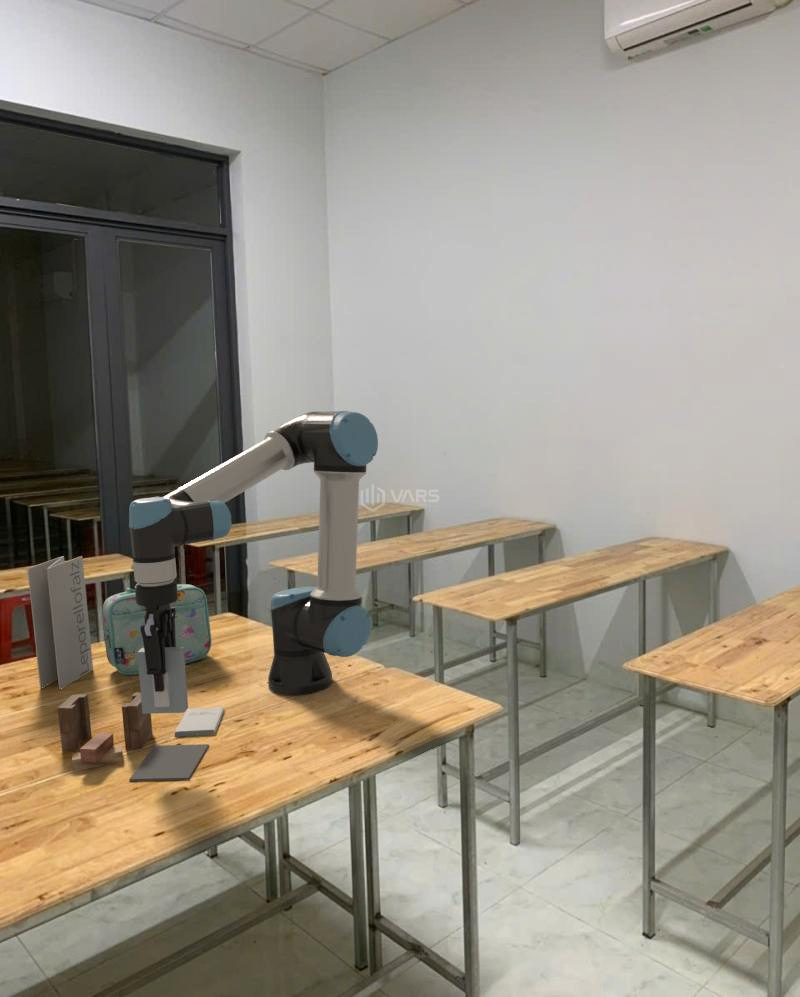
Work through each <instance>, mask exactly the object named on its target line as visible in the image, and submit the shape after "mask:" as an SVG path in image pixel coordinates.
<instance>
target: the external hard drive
mask: <svg viewBox="0 0 800 997" xmlns="http://www.w3.org/2000/svg"><path fill="white" fill-rule="evenodd" d="M224 713H225V707H223V706H216V707H198V708H188V709H187V710H186V711H185V713H184V714H183V716H182V718H181V720H180V722H179V723H178V726H177V727H176V729H175V731H174V737H175V738H176V737H192V736H193V737H195V736H211V735H216V733H217V730H218V728H219V725H220V723H221V720H222V717H223V715H224Z"/></svg>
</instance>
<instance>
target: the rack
mask: <svg viewBox="0 0 800 997" xmlns="http://www.w3.org/2000/svg"><path fill="white" fill-rule="evenodd" d="M88 697H89V696H88V693H82V694H72V695H70V696H69V697H68V698H67V699H66V700H65V701H64V702H63V703H62V704H60V705H59V706H58V707H57V714H58V716H57V717H58V725H59V735H60V744H61V751H62V752H68V751H69V752H77V751H78V750H80V748H81V746H80V744H81V742H82V741H83V740H87V739H88V740H89V738H90V737H92V727H91V718H90V706H89V698H88ZM131 698H132V701H130V702H128V703H126V702H125V703H124V704H123V705H122V706H121V712H122V724H123V725H122V726H123V735H124V744H125V745H124V746H125V751H131V750H141V749H142V748H143V747H145V745H146V743H147V742H148V741H149V739H150V738H151V737H152V735H153V724H152V713H149V714H142V702H141V691H140V692H134V693H133V694H132V695H131Z"/></svg>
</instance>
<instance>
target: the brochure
mask: <svg viewBox="0 0 800 997" xmlns="http://www.w3.org/2000/svg"><path fill="white" fill-rule="evenodd" d="M27 576H28V577H27V578H28V586H29V587H28V588H29V597H30V606H31V607H30V608H31V615H32V623H33V626H32V627H33V633H34V643H35V654H36V664H37V674H38V683H39V689H40V688H42V687H44V686H46V685H47V684H49V683H51V682H53V681H54V682H56V681H57V680H56V679H58V690H59V689H61V688H63V687H64V688H66V687H67V685H68V684H69V685H71V684H73V683H74V682H75V680H76V681H77V680H79V679H80V677H81V676H82V677H84V676H85V675H84V674H86V673H87V674H89V673H90V672H92V671H94V665H93V664H94V663H93V655H92V653H93V652H92V643H91V631H90V622H89V611H88V602H87V600H88V599H87V590H86V581H85V569H84V558H83V555H81V556H77V557H75V558H73V559H69V560H67V561H65V556H64V555H63V556H59V557H56V558H53V559H51V560H47V561H45V562H42V563H39V564H35V565H34V566H30V567H28V568H27ZM91 670H92V671H91ZM89 671H90V672H89ZM88 672H89V673H88ZM87 674H86V675H87ZM83 675H84V676H83ZM82 677H81V678H82ZM78 678H79V679H78ZM55 680H56V681H55ZM73 681H74V682H73ZM54 682H53V683H54ZM72 682H73V683H72ZM70 683H71V684H70ZM51 684H52V683H51ZM49 685H50V684H49ZM69 685H68V686H69ZM47 686H48V685H47ZM47 686H46V687H47ZM65 686H66V687H65ZM44 688H45V687H44ZM64 688H63V689H64ZM42 689H43V688H42ZM61 690H62V689H61Z"/></svg>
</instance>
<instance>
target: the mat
mask: <svg viewBox="0 0 800 997" xmlns="http://www.w3.org/2000/svg"><path fill="white" fill-rule="evenodd" d="M209 747H210V745H209V744H207V743H206V744H205V743H204V744H203V743H201V744H198V743H197V744H170V745H169V744H167V745H166V744H165V745H163V744H161V745H159V744H158V745H153V746H152V748H151V749H150V750H149V752H148V754H147V755H146V756H145V757H144V759H143V760H142V761H141V763H140V764H139V766H138V767H136V769H135V771H134V772H133V773H132V775H131V776H130V777H129V779H128V780H129V782H144V781H145V782H149V781H151V782H152V781H157V782H158V781H184V780H185V781H188V780H189V781H190V779H191V777H192V776H193V773H194V772H195V770H196V769H197V767H198V765H199V764H200V762H201V760H202V758H203V757H204V755H205V754H206V751H207V750H208V748H209Z"/></svg>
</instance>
